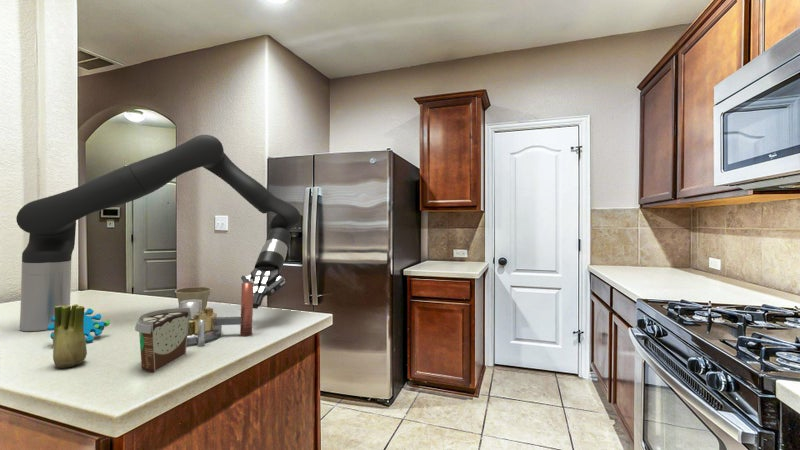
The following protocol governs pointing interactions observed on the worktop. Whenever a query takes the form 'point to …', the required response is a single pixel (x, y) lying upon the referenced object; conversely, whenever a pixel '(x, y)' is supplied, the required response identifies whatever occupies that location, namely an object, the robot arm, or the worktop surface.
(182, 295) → the flower pot
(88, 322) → the blue spiky virus model
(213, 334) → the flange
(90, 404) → the worktop surface
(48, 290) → the robot arm
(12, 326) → the worktop surface
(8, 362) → the worktop surface
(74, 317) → the fennel bulb
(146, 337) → the food container
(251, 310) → the reddish rod with blocks
